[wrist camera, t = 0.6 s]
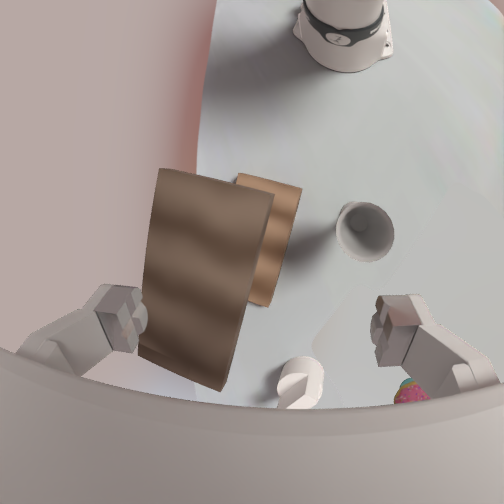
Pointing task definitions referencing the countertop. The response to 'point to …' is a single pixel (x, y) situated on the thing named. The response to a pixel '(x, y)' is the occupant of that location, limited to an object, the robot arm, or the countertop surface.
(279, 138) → the countertop surface
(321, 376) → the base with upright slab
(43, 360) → the robot arm
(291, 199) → the wooden c-shaped stand
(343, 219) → the chalice
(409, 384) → the cupcake
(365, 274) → the countertop surface
